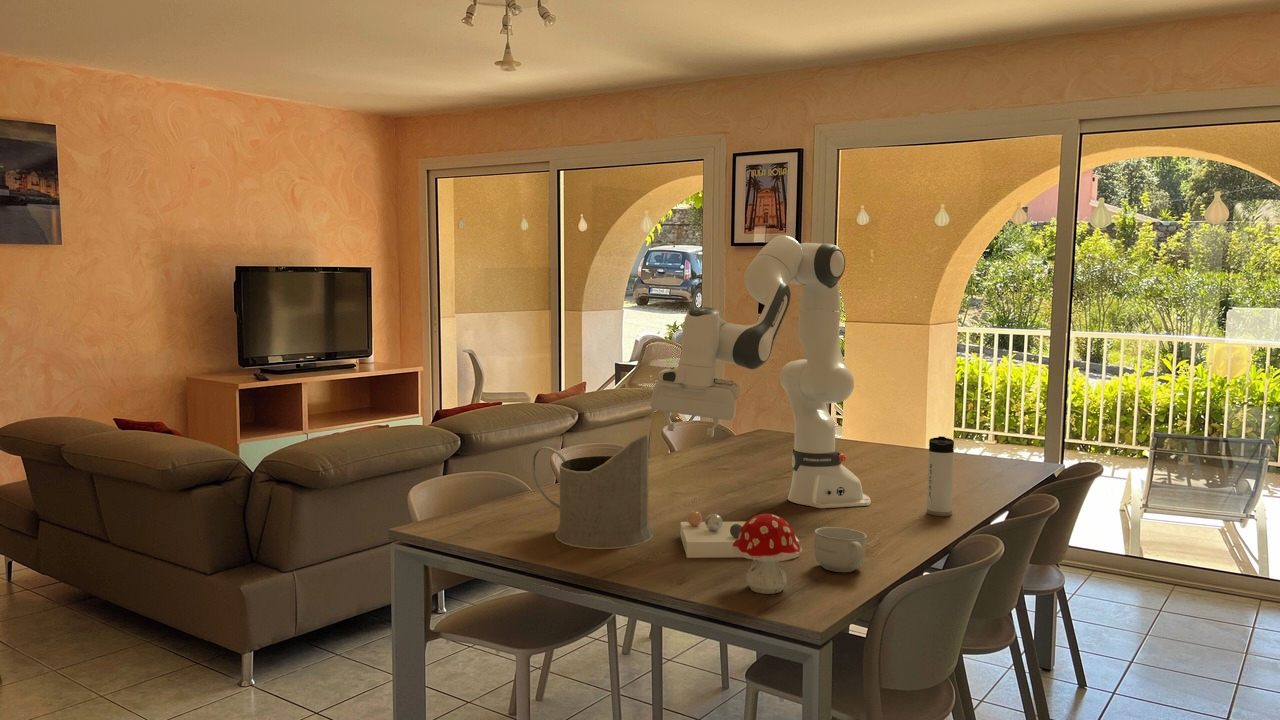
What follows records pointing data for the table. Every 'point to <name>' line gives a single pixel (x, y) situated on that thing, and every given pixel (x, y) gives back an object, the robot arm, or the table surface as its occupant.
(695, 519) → the terracotta ball
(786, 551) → the decorative mushroom
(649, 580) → the table surface
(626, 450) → the pitcher
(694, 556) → the white slab
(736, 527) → the black rubber ball
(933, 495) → the travel mug
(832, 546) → the teacup
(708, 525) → the steel ball
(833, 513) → the table surface
